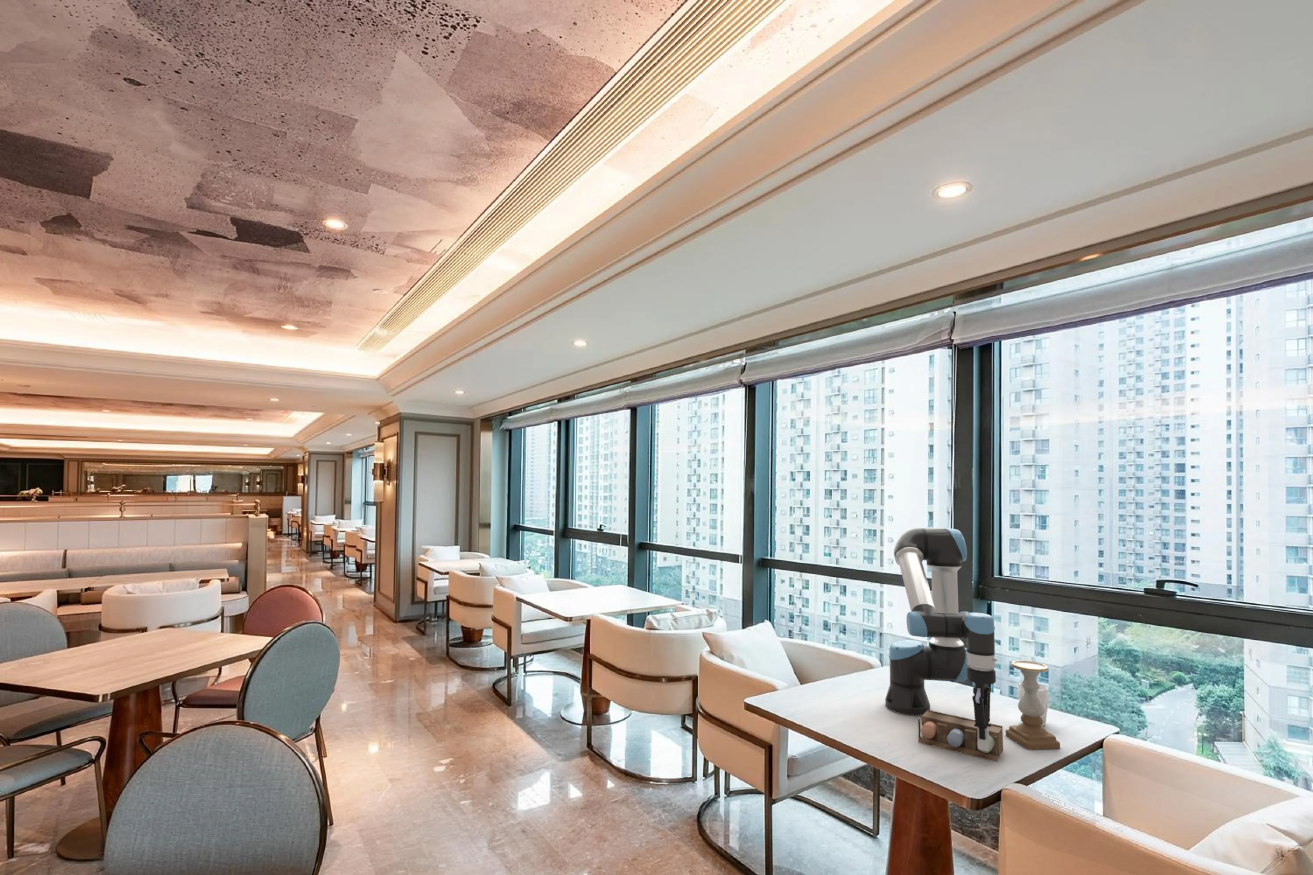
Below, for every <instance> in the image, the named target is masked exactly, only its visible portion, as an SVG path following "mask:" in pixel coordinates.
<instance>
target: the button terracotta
mask: <svg viewBox="0 0 1313 875" xmlns="http://www.w3.org/2000/svg"><path fill="white" fill-rule="evenodd" d="M920 731H921V736H922V735H923V736H924V737H925V738H927V739H931V738H933V737H934V735H935V734H936V733H937V726H936V724H935V723H933V722H931V721H928V722H926V723H925V724H924V725H923V726H922V725H921V726H920Z"/></svg>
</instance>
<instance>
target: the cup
mask: <svg viewBox="0 0 1313 875" xmlns="http://www.w3.org/2000/svg"><path fill="white" fill-rule="evenodd" d="M1021 683H1022V682H1020V683H1018V685H1017V687H1018V688H1017V695H1018V700H1019V701H1020V699H1021V698H1022V697H1023V695H1024V693H1025V691H1024V688H1023V686H1022V685H1021ZM1038 684H1039V683H1038ZM1039 686H1040V688H1039V689H1038V691H1037V696H1038V698H1039V699H1040V701H1041V702H1042V704H1043V706H1044V709H1045V712H1044V714H1043V715H1041V716H1040V717H1041V718H1042V720H1043V724H1042V725H1041V726H1042V727H1043V726H1046V723H1047V714H1048V710H1049V709H1048V708H1049V699H1050V697H1049V689H1048V688H1049V687H1047V686H1045V685H1043V684H1039ZM1019 701H1018V702H1019ZM1022 714H1023V713H1022V712H1021V715H1022Z"/></svg>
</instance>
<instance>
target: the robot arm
mask: <svg viewBox="0 0 1313 875" xmlns="http://www.w3.org/2000/svg"><path fill="white" fill-rule="evenodd" d="M893 548H894V549H893V557H894V561H895V563H896V565H898V566H899V569H900V572H901V575H902V576H901V577H902V580H903V585H904V588H905V592H906V596H907V601H908V604H909V607H910V611H908V612H907V614H906V629H907V632H908V634H909V635H910V636H912V637H918V638H919V637H921V638H930V639H929V640H928V645H924V643H923V642H922V641H920V640H914V639H913V640H911V639H905V640H898V641H894V642H893V643H892V644H890V646H889V653H888V654H889V655H888V660H889V687H888V690H887V693H886V696H885V698H884V699H885V700H884V701H885V702H884V703H885V704H884V705H885V707H886V708H887V709H888V710H890V711H892V712H894V713H898V714H901V715H907V716H922V715H923V714H924V713H925V712H926V710H931V703H930V700H929V697H928V695H927V692H926V689H925V681H939V682H951V683H957V682H959V683H960V682H965V681H966V680H968V681H969V682H973V683H974V684H975V685H974V686H973V688H972V692H973V695H972V697H971V698H972V703H973V712H974V720H975V724H974V726H975V727H977V733H978V749H980V750H984V751H989V727H991V724H992V723H991V691H992V688H991V686H989V685H993V684H995V683H996V681H997V679H996V678H997V677H996V676H997V675H996V670H995V668H996V662H998V659H997V657H996V656H995V654H996V653H995V652H996V648H995V646H996V644H995V642H996V641H995V639H996V638H995V630H996V627H995V622H994V621H995V620H994V617H993V615H990V614H987V613H983V612H969V611H960V612H959V594H958V593H959V590H958V588H959V587H958V571H959V570H960V569H961V568H962V562H966V561H967V559H968V548H967V545H966V540H965V538H964V536H963V533H962V532H961V531H960V530H959V529H956V528H949V527H948V528H947V527H945V528H943V527H941V528H939V527H938V528H937V527H936V528H935V527H933V528H931V527H929V528H928V527H927V528H926V527H913V528H910V529H908V530H906V531H904V532H903V533H902V534H901V535H900V536H899V537H898V539H897V541H896V542H895V544H894V547H893ZM923 561H926V566H927V567H928V568H929V569H930V571H931V589H930V585H929V581H928V578H927V575H926V570H925V568H924V564H923ZM961 639H962V640H965V641H966V642H965V643H966V647H965V643H964V641H962V640H961ZM989 723H991V724H989ZM987 726H989V727H987Z"/></svg>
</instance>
